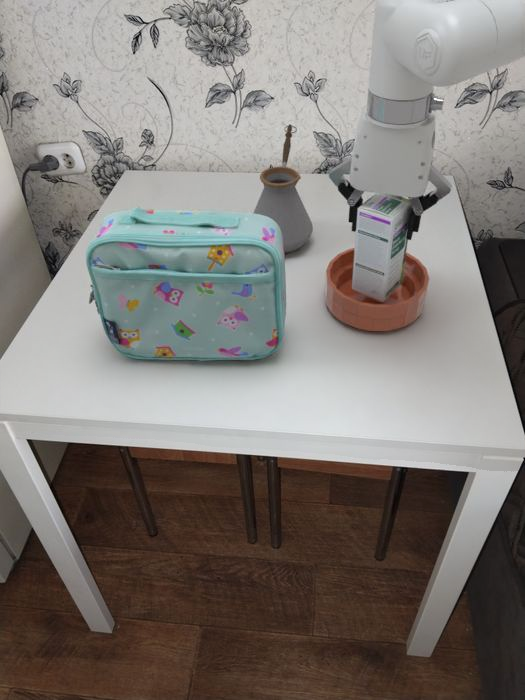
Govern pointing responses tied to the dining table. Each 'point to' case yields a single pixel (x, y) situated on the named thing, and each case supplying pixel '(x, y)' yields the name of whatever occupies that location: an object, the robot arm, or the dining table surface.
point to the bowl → (368, 310)
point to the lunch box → (189, 284)
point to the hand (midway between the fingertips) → (382, 229)
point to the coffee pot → (285, 201)
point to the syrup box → (380, 245)
